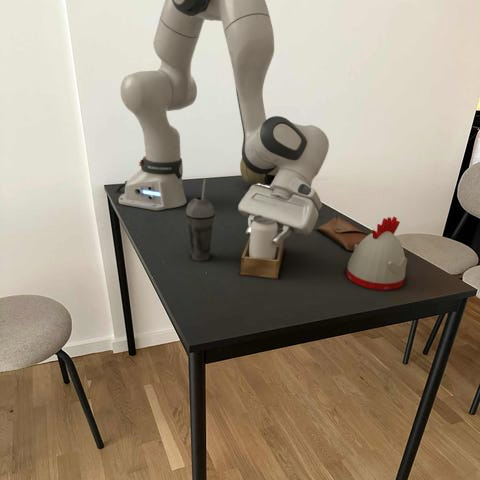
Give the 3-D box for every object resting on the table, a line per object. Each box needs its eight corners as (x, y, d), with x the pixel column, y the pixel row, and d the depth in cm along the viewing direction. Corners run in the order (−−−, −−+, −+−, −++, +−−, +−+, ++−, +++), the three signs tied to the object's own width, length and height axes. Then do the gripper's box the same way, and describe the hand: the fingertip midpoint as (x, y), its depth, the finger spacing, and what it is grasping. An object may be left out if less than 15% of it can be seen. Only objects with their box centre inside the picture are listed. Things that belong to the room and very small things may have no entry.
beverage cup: (182, 253, 120) (180, 176, 109) (208, 249, 122) (209, 174, 112) (191, 264, 114) (190, 184, 104) (218, 261, 117) (220, 182, 106)
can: (272, 272, 111) (276, 225, 104) (246, 269, 112) (248, 222, 105) (276, 261, 116) (280, 216, 110) (251, 258, 117) (253, 213, 110)
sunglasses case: (313, 227, 138) (325, 208, 136) (328, 236, 142) (340, 217, 140) (348, 251, 124) (362, 229, 123) (364, 260, 129) (377, 239, 127)
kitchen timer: (415, 281, 112) (431, 223, 104) (376, 295, 105) (390, 233, 97) (373, 260, 121) (385, 204, 113) (334, 271, 115) (344, 213, 107)
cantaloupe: (274, 194, 166) (277, 151, 158) (235, 189, 169) (236, 147, 161) (280, 183, 178) (284, 143, 170) (244, 179, 181) (245, 139, 173)
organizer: (240, 274, 111) (241, 257, 108) (250, 246, 126) (251, 230, 123) (277, 278, 110) (279, 261, 107) (283, 249, 124) (285, 234, 122)
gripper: (249, 174, 113) (223, 221, 112) (321, 192, 103) (293, 245, 102) (258, 188, 119) (233, 234, 117) (328, 206, 108) (301, 257, 107)
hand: (262, 239), depth 109 cm, fingers closed on can, 6 cm apart
